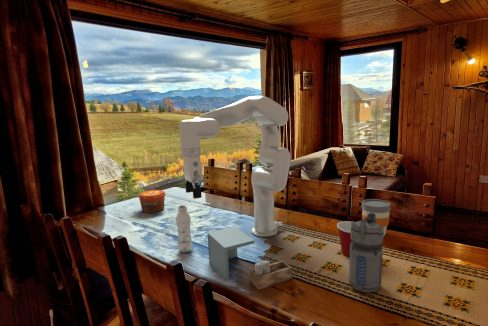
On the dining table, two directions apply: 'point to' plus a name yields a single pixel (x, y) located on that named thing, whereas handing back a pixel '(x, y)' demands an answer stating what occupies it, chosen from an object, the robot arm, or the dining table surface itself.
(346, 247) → the plastic cup
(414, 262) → the dining table surface
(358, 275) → the beverage bottle
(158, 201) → the food container
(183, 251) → the plastic bottle
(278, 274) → the tray
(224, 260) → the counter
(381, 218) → the reusable coffee cup
